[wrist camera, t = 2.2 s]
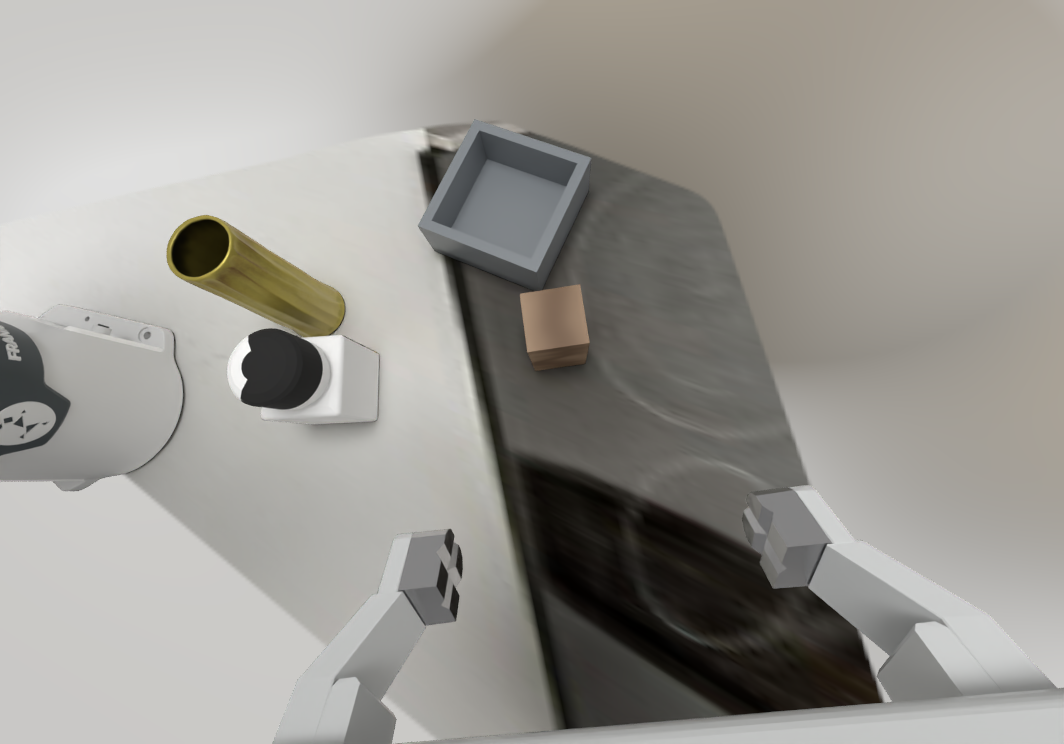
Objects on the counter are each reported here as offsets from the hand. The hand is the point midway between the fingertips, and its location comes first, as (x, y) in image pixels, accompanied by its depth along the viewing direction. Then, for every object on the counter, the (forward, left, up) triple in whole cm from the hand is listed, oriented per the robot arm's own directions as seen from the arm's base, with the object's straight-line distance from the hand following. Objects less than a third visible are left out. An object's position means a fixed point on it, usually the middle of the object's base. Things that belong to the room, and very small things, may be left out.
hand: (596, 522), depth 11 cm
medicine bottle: (-25, -2, -27) cm, 37 cm away
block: (-7, +10, -27) cm, 30 cm away
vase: (-32, +3, -27) cm, 42 cm away
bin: (-17, +21, -27) cm, 38 cm away
